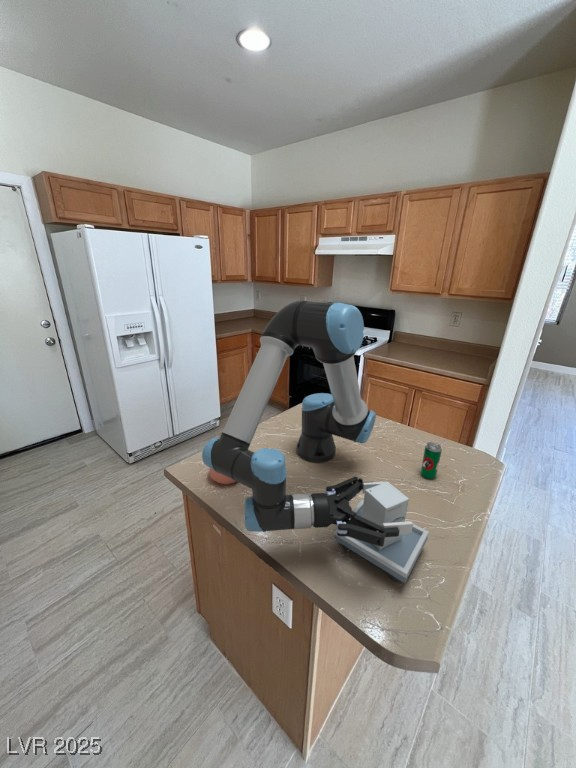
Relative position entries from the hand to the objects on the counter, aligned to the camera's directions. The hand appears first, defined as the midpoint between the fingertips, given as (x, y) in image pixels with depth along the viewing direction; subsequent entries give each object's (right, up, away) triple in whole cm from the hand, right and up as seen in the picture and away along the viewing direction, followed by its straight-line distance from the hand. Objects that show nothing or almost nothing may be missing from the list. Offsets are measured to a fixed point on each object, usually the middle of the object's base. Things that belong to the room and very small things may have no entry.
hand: (398, 505), depth 75 cm
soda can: (+22, -3, +33) cm, 39 cm away
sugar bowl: (-46, -2, +32) cm, 57 cm away
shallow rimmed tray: (-3, -13, +4) cm, 14 cm away
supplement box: (-3, -9, +3) cm, 10 cm away
